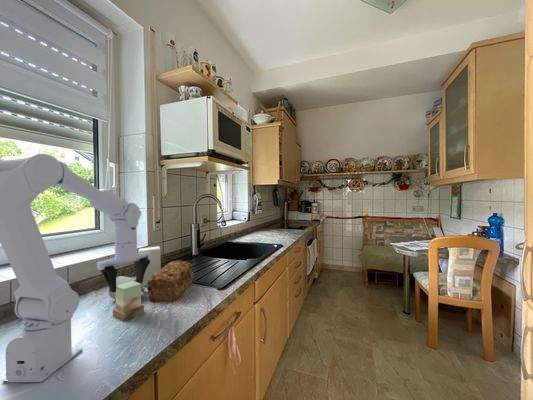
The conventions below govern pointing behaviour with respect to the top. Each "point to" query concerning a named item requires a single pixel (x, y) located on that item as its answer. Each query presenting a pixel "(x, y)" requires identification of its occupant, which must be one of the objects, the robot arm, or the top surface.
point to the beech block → (128, 304)
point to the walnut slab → (128, 313)
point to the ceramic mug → (120, 281)
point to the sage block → (128, 290)
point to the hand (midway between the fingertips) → (126, 287)
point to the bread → (170, 281)
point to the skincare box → (151, 262)
